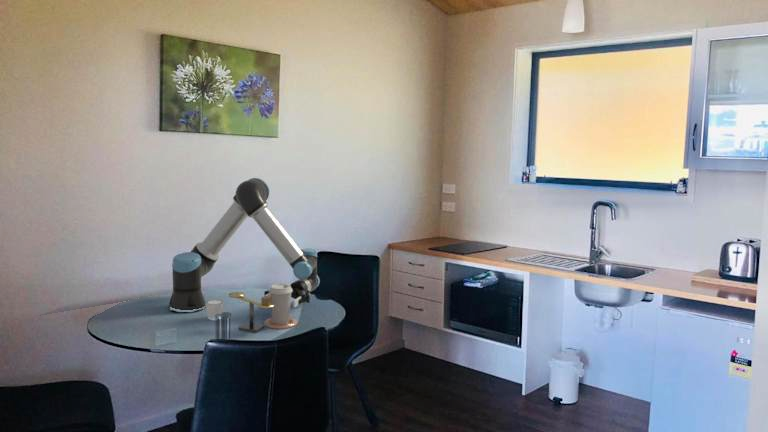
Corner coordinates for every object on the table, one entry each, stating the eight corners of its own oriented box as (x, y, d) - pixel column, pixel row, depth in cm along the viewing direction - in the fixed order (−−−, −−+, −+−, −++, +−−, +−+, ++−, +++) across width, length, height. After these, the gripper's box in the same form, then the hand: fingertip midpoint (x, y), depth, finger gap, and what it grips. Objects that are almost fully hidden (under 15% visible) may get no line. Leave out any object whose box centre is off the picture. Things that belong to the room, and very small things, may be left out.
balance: (226, 328, 245) (226, 294, 243) (233, 323, 251) (233, 291, 249) (269, 334, 240) (270, 300, 238) (276, 329, 246) (277, 296, 244)
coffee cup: (287, 326, 247) (287, 290, 245) (265, 324, 249) (265, 288, 247) (295, 319, 257) (296, 284, 254) (274, 317, 259) (274, 282, 256)
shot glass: (226, 317, 258) (226, 301, 257) (215, 322, 252) (215, 305, 251) (213, 314, 261) (213, 298, 260) (202, 319, 255) (202, 303, 254)
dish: (258, 326, 249) (258, 324, 248) (273, 317, 261) (273, 315, 261) (288, 330, 245) (288, 328, 245) (301, 320, 258) (301, 319, 257)
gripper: (326, 300, 267) (307, 314, 247) (273, 294, 273) (250, 307, 253) (326, 283, 266) (307, 296, 246) (273, 277, 272) (250, 289, 252)
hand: (278, 302), depth 249 cm, fingers open, 13 cm apart
